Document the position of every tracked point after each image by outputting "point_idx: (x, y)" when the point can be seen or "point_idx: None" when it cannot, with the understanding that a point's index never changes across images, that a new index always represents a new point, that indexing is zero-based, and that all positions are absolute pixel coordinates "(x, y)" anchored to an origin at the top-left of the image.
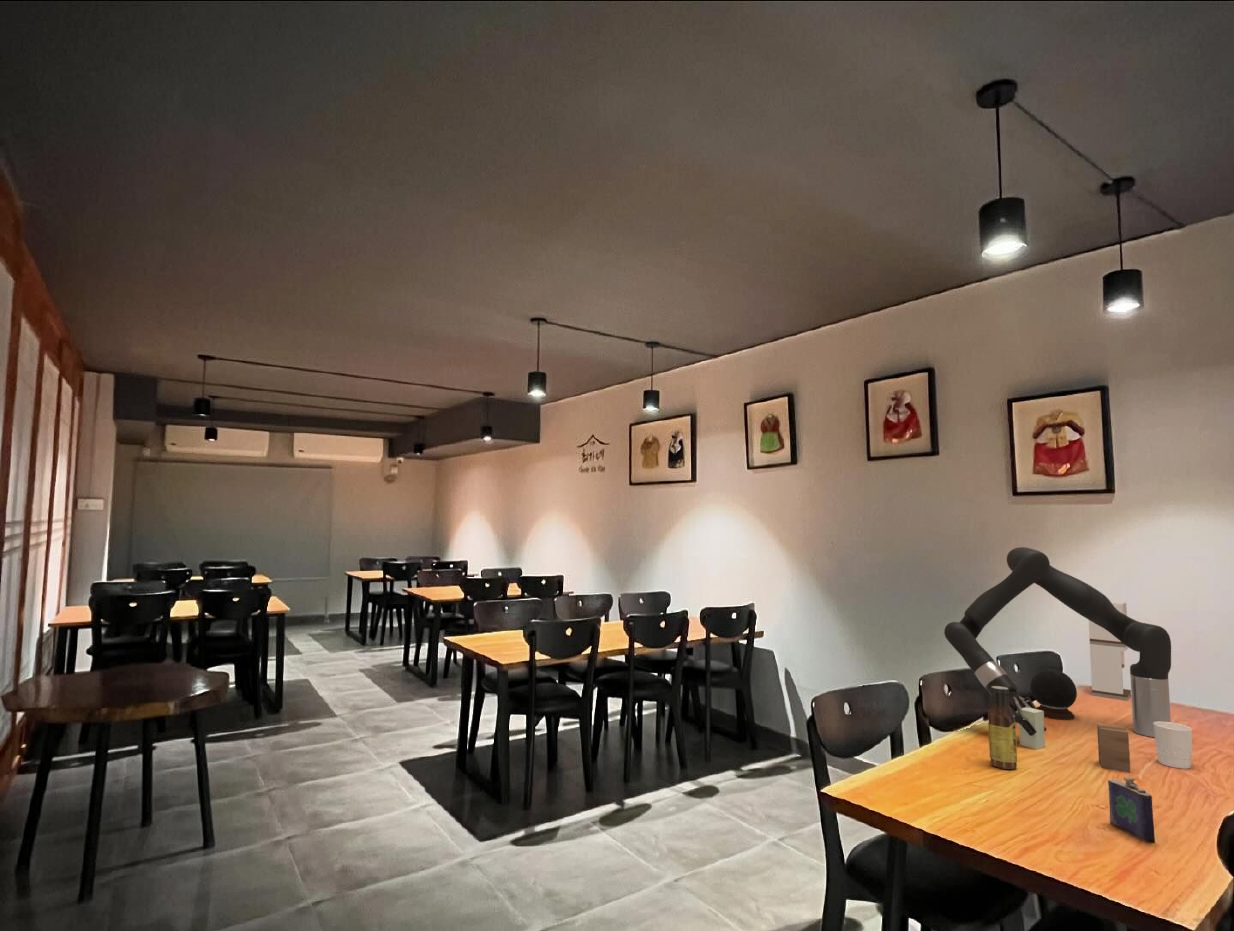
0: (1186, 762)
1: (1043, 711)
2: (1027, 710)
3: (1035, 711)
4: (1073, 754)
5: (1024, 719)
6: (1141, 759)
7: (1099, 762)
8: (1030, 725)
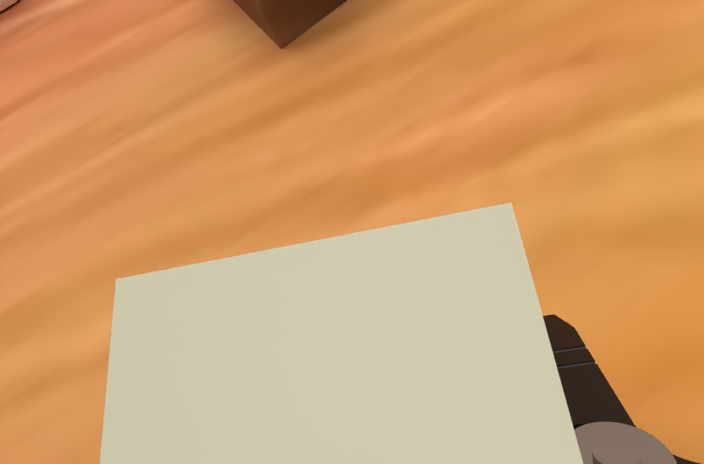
0: None
1: (130, 279)
2: (506, 462)
3: (360, 295)
4: (291, 179)
5: (639, 431)
6: (31, 44)
7: (305, 28)
8: None
